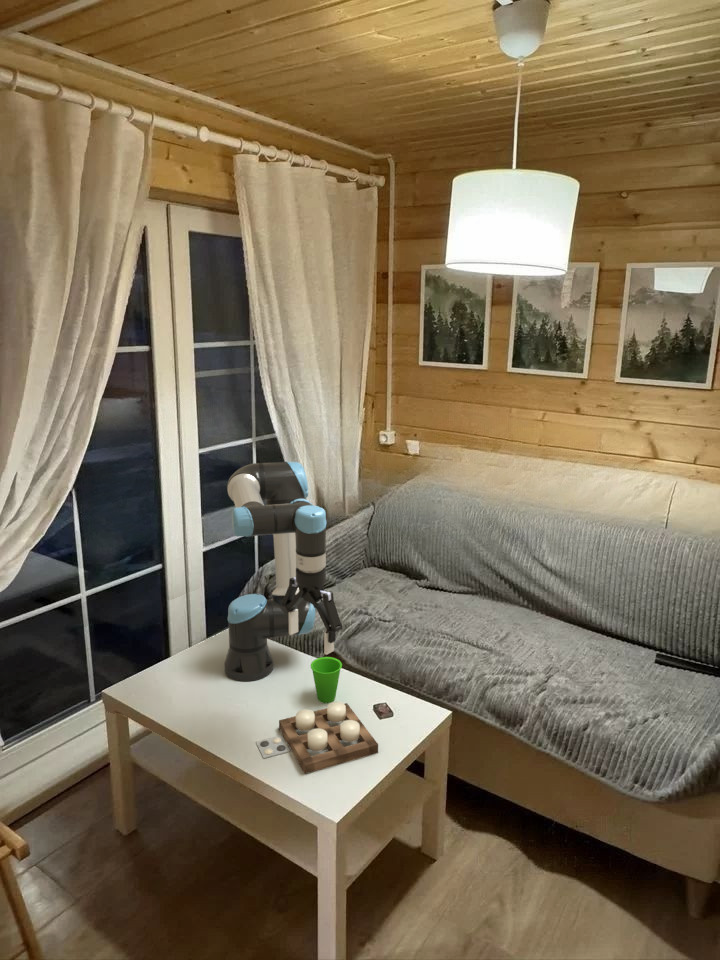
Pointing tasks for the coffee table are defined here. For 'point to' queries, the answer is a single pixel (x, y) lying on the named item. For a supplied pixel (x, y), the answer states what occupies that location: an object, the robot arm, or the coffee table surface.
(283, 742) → the card
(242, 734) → the coffee table surface
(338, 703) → the button back left
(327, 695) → the cup
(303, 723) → the button back right
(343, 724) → the button front left
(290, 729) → the board
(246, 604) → the robot arm
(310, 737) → the button front right
